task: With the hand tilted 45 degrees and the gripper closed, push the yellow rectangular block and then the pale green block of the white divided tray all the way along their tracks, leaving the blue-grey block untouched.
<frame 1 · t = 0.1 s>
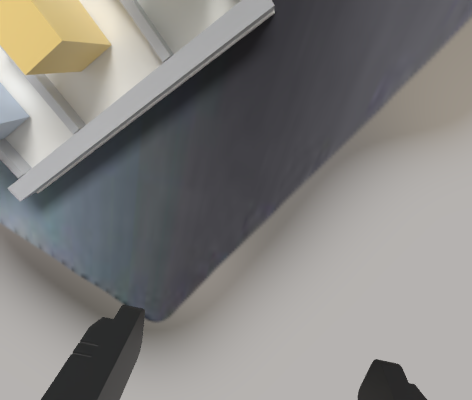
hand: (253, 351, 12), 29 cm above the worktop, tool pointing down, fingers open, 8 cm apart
white divided tray: (101, 58, 36), on the worktop
yellow rectangular block: (54, 33, 30), point 6 cm above the worktop, slide at 0.0 cm
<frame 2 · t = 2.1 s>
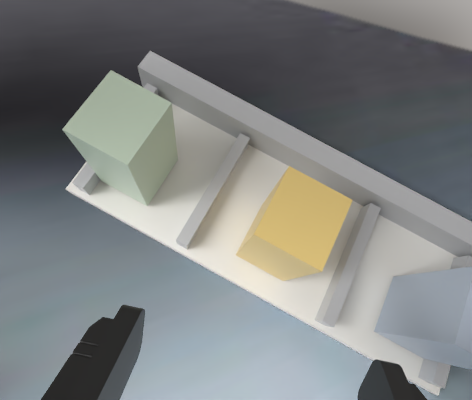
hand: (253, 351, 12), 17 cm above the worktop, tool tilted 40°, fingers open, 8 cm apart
white divided tray: (280, 220, 31), on the worktop
pale green block: (131, 147, 25), point 6 cm above the worktop, slide at 0.0 cm
yellow rectangular block: (285, 231, 25), point 6 cm above the worktop, slide at 0.0 cm
blue-grey block: (445, 318, 24), point 6 cm above the worktop, slide at 0.0 cm
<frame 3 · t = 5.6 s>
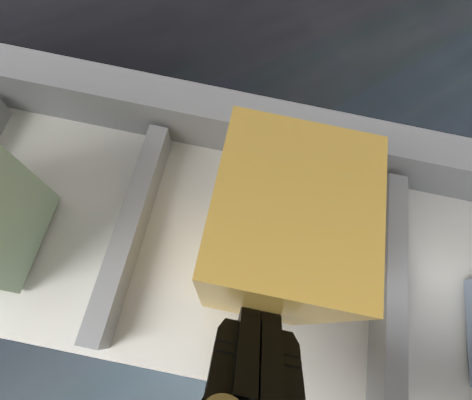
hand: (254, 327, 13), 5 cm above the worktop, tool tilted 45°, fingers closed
white divided tray: (257, 244, 19), on the worktop
yellow rectangular block: (271, 243, 13), point 6 cm above the worktop, slide at 1.1 cm, touching gripper
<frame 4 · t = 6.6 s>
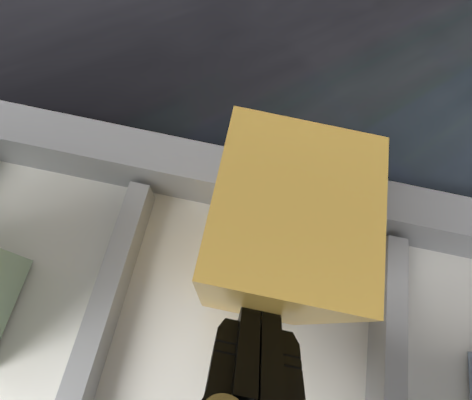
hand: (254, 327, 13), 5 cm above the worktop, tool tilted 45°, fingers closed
white divided tray: (246, 307, 17), on the worktop
yellow rectangular block: (271, 243, 13), point 6 cm above the worktop, slide at 4.6 cm, touching gripper
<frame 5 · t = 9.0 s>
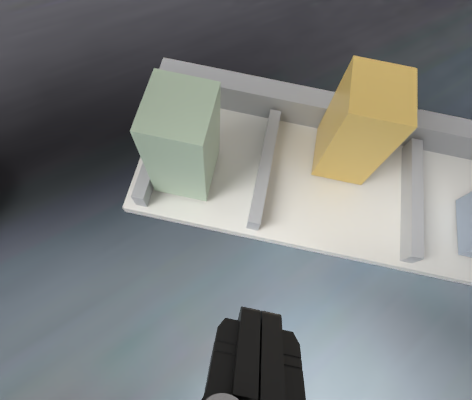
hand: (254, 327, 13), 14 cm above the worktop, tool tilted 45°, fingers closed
white divided tray: (331, 181, 31), on the worktop
pale green block: (183, 143, 25), point 6 cm above the worktop, slide at 0.0 cm
yellow rectangular block: (357, 128, 27), point 6 cm above the worktop, slide at 4.6 cm
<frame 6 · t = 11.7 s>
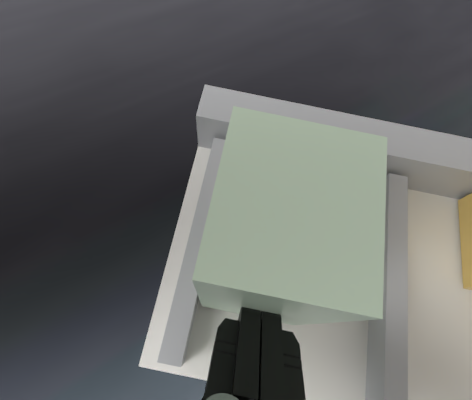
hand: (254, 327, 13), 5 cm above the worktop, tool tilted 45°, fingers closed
pale green block: (271, 243, 13), point 6 cm above the worktop, slide at 1.1 cm, touching gripper
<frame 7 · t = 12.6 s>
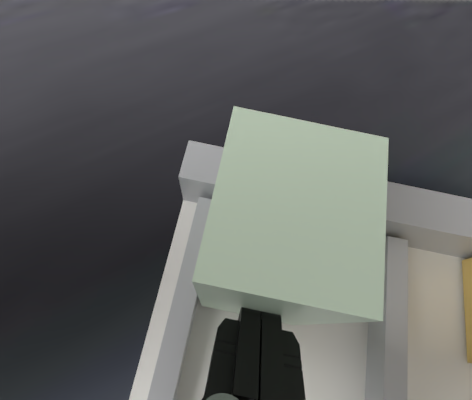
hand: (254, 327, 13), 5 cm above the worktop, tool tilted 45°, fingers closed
pale green block: (271, 243, 13), point 6 cm above the worktop, slide at 4.6 cm, touching gripper
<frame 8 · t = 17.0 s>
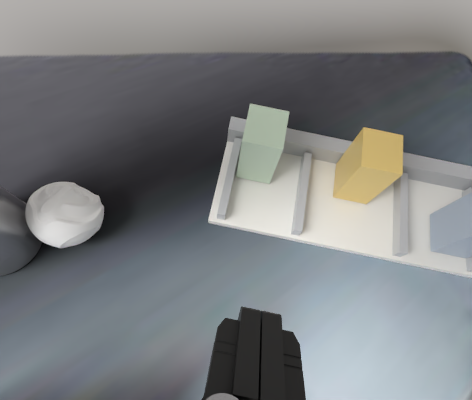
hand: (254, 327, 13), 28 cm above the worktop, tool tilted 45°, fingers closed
white divided tray: (346, 201, 45), on the worktop
crumpled paper ball: (78, 224, 42), on the worktop
pale green block: (260, 146, 41), point 6 cm above the worktop, slide at 4.6 cm
yellow rectangular block: (365, 168, 41), point 6 cm above the worktop, slide at 4.6 cm
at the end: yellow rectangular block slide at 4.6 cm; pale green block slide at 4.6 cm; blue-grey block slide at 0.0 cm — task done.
